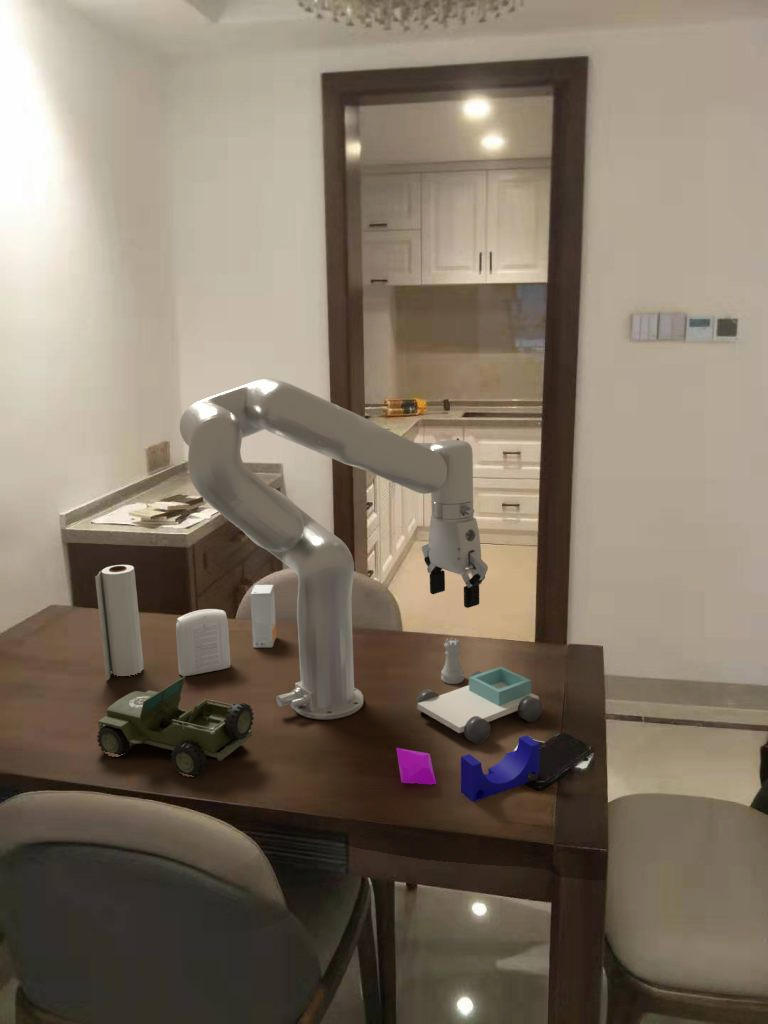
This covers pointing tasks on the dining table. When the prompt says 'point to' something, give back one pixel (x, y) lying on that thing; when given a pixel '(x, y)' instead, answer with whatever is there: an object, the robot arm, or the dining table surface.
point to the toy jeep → (175, 727)
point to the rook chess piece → (452, 663)
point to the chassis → (482, 702)
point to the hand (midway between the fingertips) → (454, 599)
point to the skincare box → (263, 616)
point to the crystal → (415, 767)
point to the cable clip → (500, 771)
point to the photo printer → (202, 642)
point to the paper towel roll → (119, 620)
